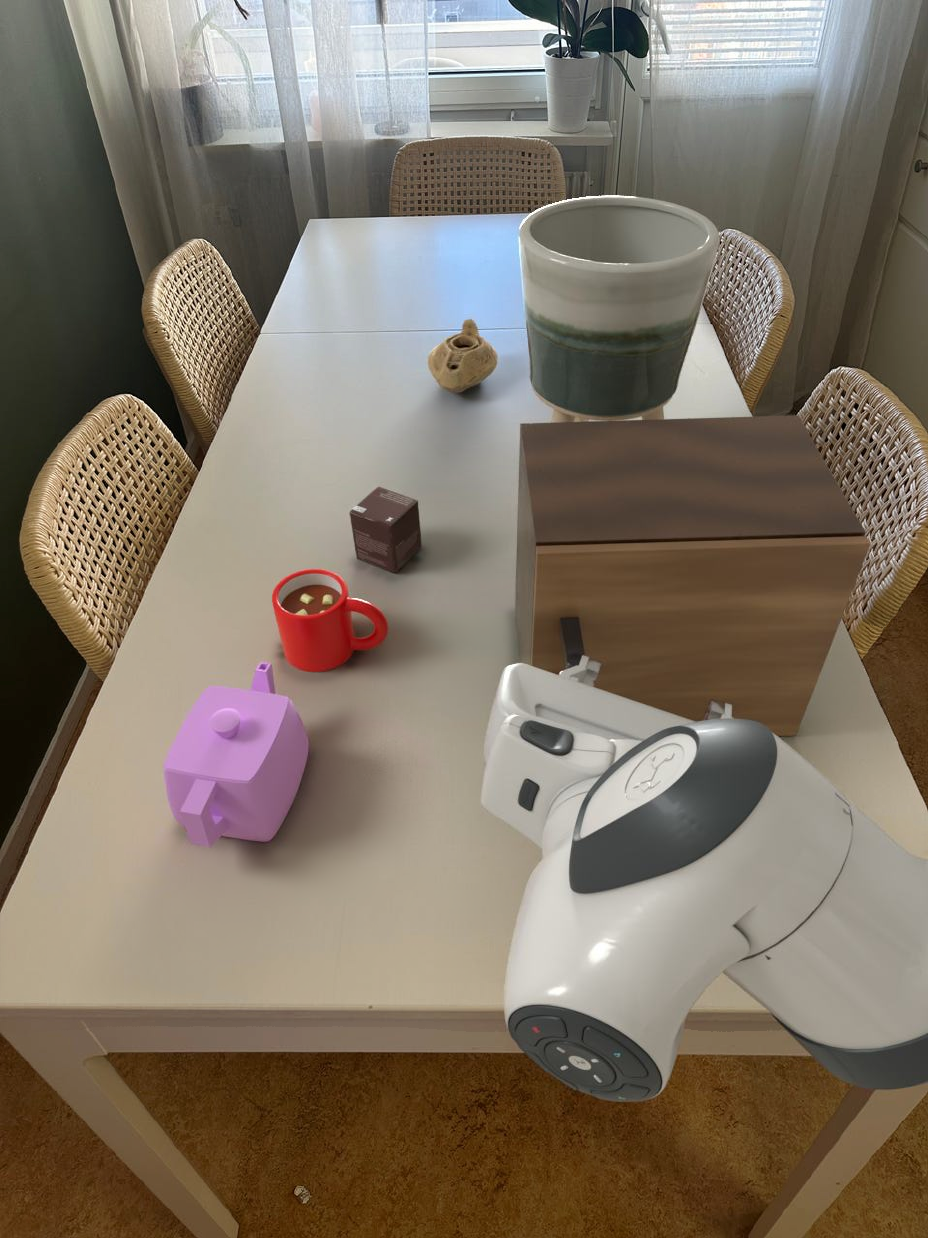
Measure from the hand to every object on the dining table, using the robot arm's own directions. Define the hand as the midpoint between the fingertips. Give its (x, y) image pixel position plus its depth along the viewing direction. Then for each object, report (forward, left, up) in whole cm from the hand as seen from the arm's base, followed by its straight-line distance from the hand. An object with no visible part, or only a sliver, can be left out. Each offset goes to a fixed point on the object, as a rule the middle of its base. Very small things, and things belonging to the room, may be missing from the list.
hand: (652, 686), depth 62 cm
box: (+22, -42, -22) cm, 52 cm away
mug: (+27, -26, -21) cm, 43 cm away
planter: (-5, -56, -21) cm, 60 cm away
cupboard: (-6, -22, -21) cm, 31 cm away
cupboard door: (-6, -9, -21) cm, 24 cm away
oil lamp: (+12, -84, -22) cm, 88 cm away
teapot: (+34, -8, -21) cm, 41 cm away
